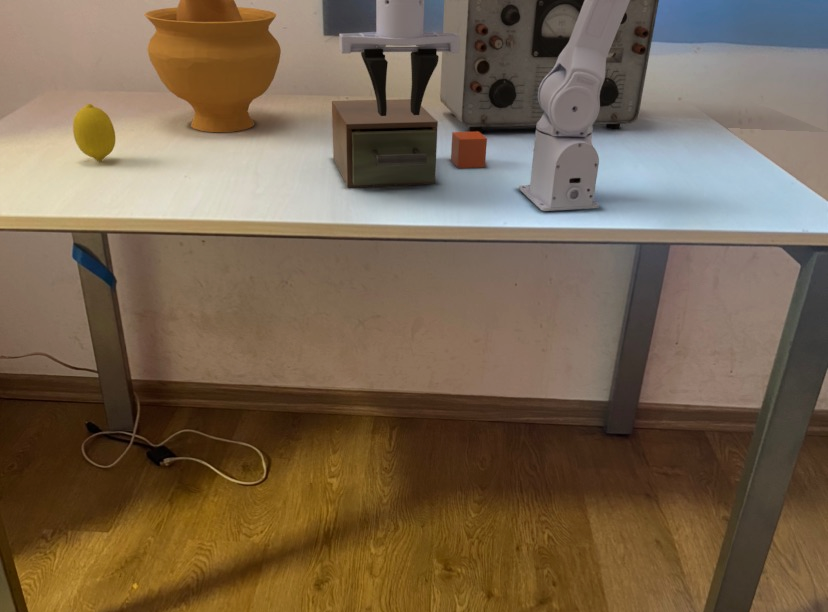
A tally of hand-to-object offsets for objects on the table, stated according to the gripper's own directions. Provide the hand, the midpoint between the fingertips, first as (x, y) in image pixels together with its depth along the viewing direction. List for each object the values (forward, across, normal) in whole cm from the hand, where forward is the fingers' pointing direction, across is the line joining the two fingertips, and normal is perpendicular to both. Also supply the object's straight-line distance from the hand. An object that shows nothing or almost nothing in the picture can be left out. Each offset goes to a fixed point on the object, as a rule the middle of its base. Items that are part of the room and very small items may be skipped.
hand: (398, 113), depth 101 cm
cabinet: (+10, 0, -11) cm, 15 cm away
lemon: (+11, +40, -21) cm, 46 cm away
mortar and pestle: (+11, +22, -41) cm, 47 cm away
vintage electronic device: (+11, -33, -36) cm, 50 cm away
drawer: (+10, 0, -6) cm, 11 cm away
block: (+10, -14, -13) cm, 21 cm away
